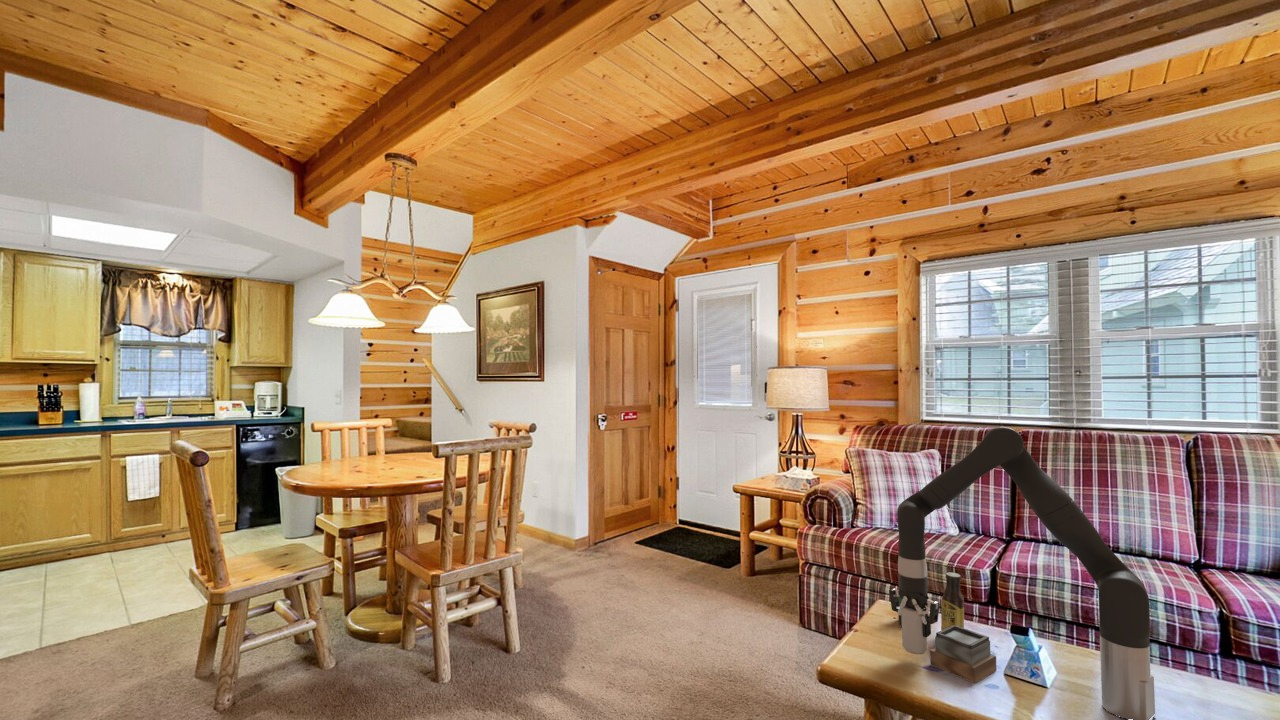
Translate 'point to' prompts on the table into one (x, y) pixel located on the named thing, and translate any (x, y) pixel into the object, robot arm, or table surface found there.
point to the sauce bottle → (952, 602)
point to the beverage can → (912, 632)
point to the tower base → (963, 666)
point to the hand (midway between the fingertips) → (914, 632)
